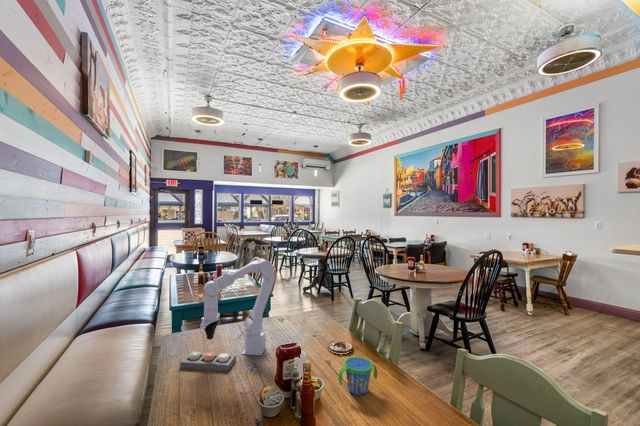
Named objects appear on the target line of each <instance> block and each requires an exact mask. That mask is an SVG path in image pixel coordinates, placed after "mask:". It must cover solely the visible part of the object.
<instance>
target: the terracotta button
mask: <svg viewBox="0 0 640 426" xmlns="http://www.w3.org/2000/svg"><path fill="white" fill-rule="evenodd" d="M205 353H206V354H204V361H208V362H212V361H213V360H214V354H215V352H205Z"/></svg>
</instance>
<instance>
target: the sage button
mask: <svg viewBox="0 0 640 426" xmlns="http://www.w3.org/2000/svg"><path fill="white" fill-rule="evenodd" d="M191 352H192V353H191ZM191 352H190V353H188V355H189V360H193V361H198V360H199V359H200V353H201V352H200V351H191Z"/></svg>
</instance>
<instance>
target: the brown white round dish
mask: <svg viewBox="0 0 640 426" xmlns="http://www.w3.org/2000/svg"><path fill="white" fill-rule="evenodd" d="M345 343H346V344H347V345H348V346H347V345H345ZM331 345H333V346H331ZM349 346H350V348H349V350H347V349H346V348H348V347H349ZM328 348H329V349H330V350H331V351H333V352H336V353H347V352H350V351H352V352H353V351H354V350H353V349H354V346H353V344H352V343H351V342H350V341H349V340H333V341H332V340H331V341H330V342H329V343H328V346H327V349H328ZM329 349H328V350H329Z"/></svg>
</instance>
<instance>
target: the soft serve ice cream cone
mask: <svg viewBox="0 0 640 426" xmlns="http://www.w3.org/2000/svg"><path fill="white" fill-rule="evenodd" d="M296 345H298V346H300V348H301V354H300V358H299V357H295V358H294V360H295V361H294V363H293V364H295V366H294V368H297V366H296V365H297V362H298V370H297V372H299V376H300V377H302V372H303V362H305V363H306V362H307V359H308V355H307V353H306V352H305V351H304V350H303V347H302V344H300V343H296Z"/></svg>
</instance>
